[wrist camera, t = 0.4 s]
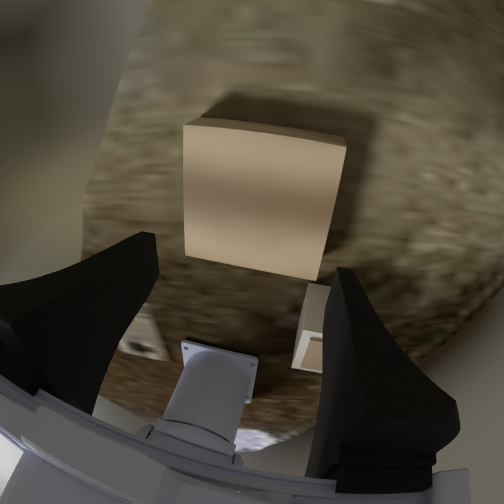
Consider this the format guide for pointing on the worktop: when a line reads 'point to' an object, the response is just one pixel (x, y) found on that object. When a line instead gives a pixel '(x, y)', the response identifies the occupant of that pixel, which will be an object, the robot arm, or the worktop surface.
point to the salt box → (311, 329)
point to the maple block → (259, 194)
